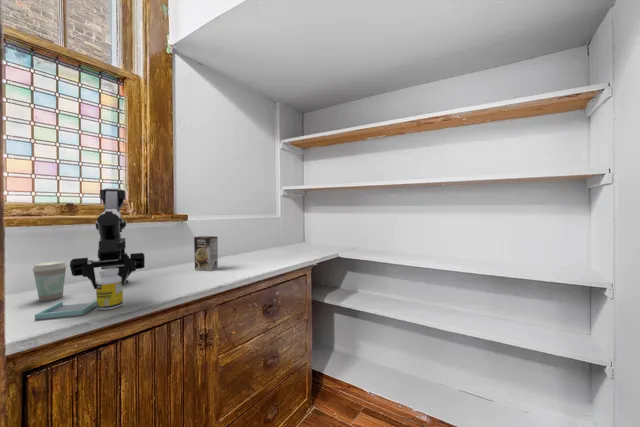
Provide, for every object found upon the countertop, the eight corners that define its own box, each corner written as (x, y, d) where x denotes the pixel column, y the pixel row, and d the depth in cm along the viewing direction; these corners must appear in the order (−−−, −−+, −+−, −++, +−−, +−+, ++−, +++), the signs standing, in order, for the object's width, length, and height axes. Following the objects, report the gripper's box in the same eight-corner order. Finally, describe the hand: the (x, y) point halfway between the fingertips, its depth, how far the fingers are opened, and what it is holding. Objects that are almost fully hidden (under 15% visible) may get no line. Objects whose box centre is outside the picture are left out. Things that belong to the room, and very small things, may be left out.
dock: (59, 306, 87) (59, 301, 87) (101, 302, 90) (101, 298, 90) (34, 320, 77) (34, 314, 77) (82, 315, 80) (82, 310, 80)
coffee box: (194, 270, 136) (193, 237, 136) (203, 267, 142) (202, 235, 142) (210, 271, 133) (209, 237, 133) (218, 268, 140) (217, 235, 139)
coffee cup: (38, 304, 90) (36, 266, 90) (30, 299, 95) (28, 264, 95) (72, 296, 98) (70, 262, 97) (63, 292, 102) (61, 259, 102)
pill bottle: (91, 309, 85) (90, 270, 84) (114, 302, 91) (113, 266, 90) (105, 311, 82) (104, 272, 82) (128, 304, 88) (126, 267, 88)
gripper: (69, 232, 84) (63, 276, 75) (143, 228, 94) (145, 266, 86) (75, 254, 91) (70, 297, 82) (143, 249, 101) (145, 286, 92)
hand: (109, 286), depth 85 cm, fingers closed on pill bottle, 6 cm apart
